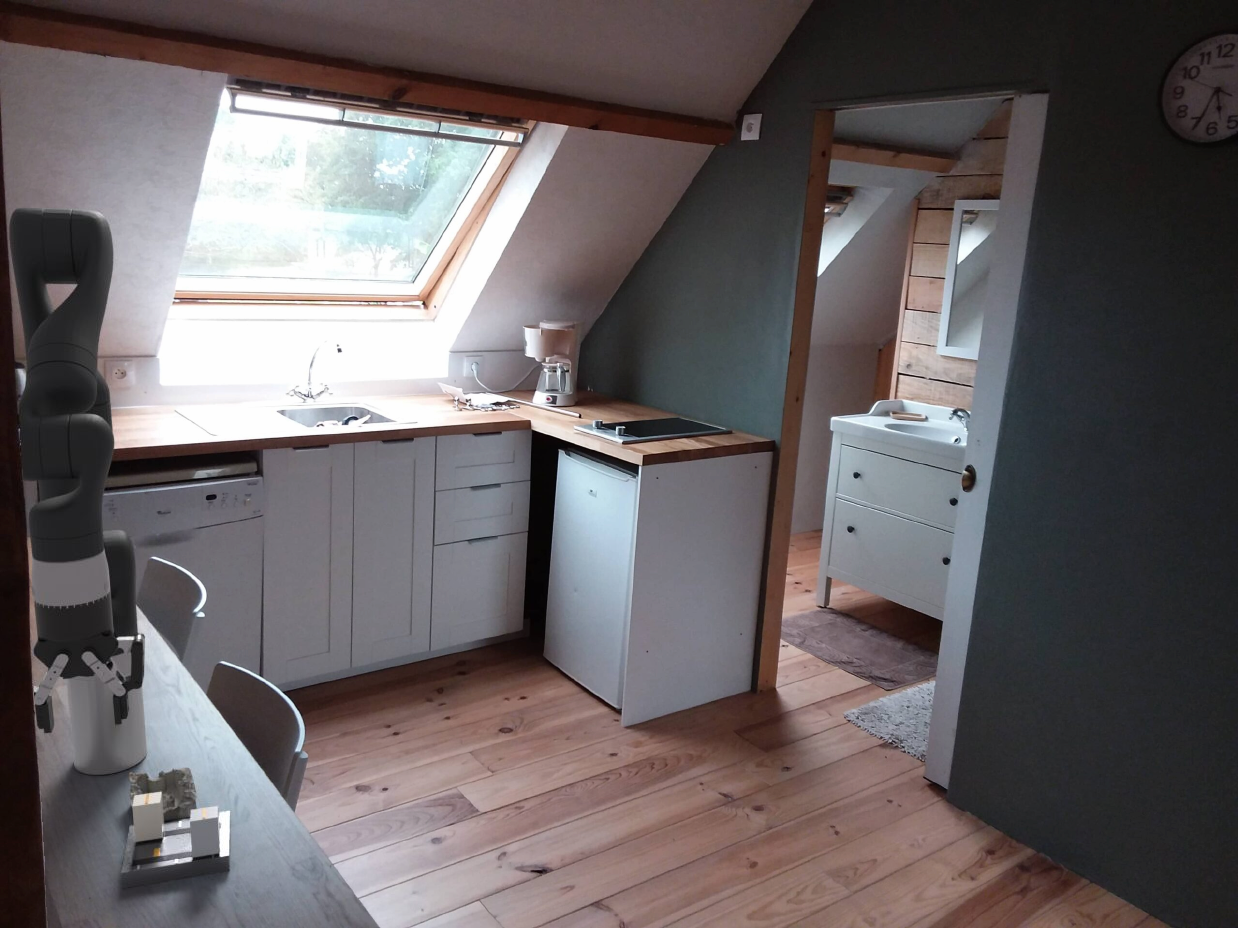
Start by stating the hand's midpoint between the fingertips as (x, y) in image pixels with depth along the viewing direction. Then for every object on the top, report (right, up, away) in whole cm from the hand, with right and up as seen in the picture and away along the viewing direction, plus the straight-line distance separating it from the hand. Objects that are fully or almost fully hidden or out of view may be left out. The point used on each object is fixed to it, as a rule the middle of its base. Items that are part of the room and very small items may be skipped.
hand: (84, 725), depth 115 cm
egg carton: (+3, -15, +14) cm, 21 cm away
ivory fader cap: (+5, -15, +6) cm, 17 cm away
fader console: (+8, -17, +6) cm, 20 cm away
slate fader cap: (+13, -16, +3) cm, 20 cm away
